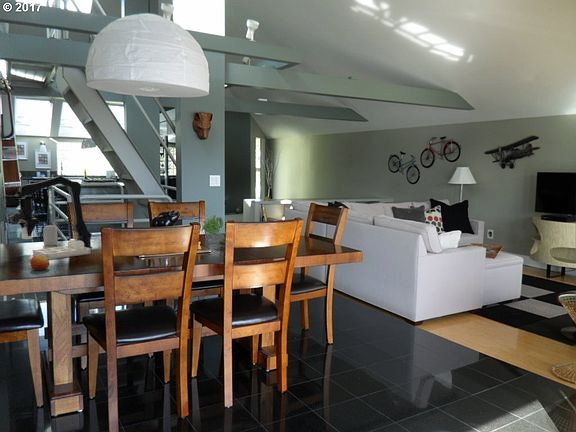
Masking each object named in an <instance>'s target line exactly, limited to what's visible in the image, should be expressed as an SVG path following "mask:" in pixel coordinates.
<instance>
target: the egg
mask: <svg viewBox="0 0 576 432" xmlns="http://www.w3.org/2000/svg"><path fill="white" fill-rule="evenodd" d="M21 240H33V233H32V234H31V236H28V234H27V229H26V226H25V227H23V228H21Z"/></svg>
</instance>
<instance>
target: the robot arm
mask: <svg viewBox="0 0 576 432" xmlns="http://www.w3.org/2000/svg"><path fill="white" fill-rule="evenodd" d="M58 184H60V185H62V186H63V187H65V188H66V189H67V190H68V191H67V192H68V193H69V196H70V197H71V203H72V211H73V217H74V223H71V225H72V226H71V227H72V231H73V232H74V234H76V235H77V237H78V238H77V239H76V240H77V241H78V240H80V241H83V243H84V247H87V248H93V246H92V244H91V243H92V241H91V240H92V239H91V238H92V236H93V235H92V233H91V232H90V231H88V227H87V224H86V222H85V221H84V217H83V216H84V215H83V210H82V209H83V208H82V204H81V192H82V185H81V183H80V182H78V181H72V180H71V179H68V178H66V177H64V176H62V175H57V176H55V177H51V178H49V179H45V180H42V181H38V182H33V183H26V184H21V185H19V187H18V190H17V192H16V193H15V195H4V199H3V202H2V203H3V208H4V209H17V208H18V207H20V208H19V209H18V210H17V211H18V212H15V213H12V214H9V215H8V220H9V221H10V222H12V223H16V224H17V225H19V226H20V228H21V229H22V228H23V227H25V226H26V229H27V234H28V236H31V234H32V235H33V231H34V230H35V228H36V226H38V225H39V224H40V219H39V218H36V217H34V216H33V212H34V211H35V210H34V209H33V200H37V197H35V196H34V195H33V194H34V193H36V192H38V191H40V190H43V189H46V188H49V187H52V186H55V185H58Z"/></svg>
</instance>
